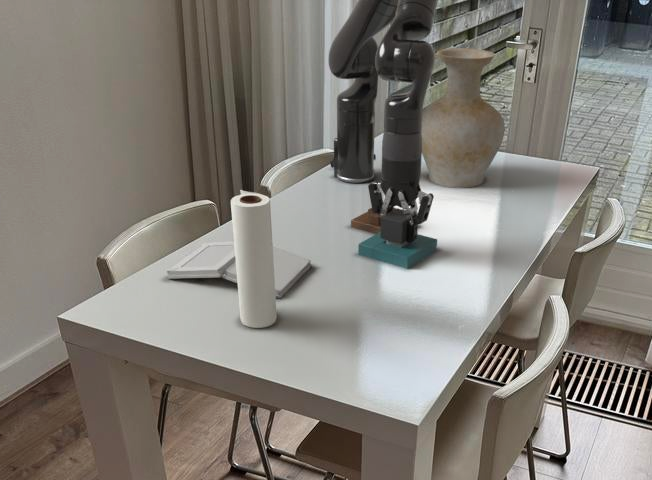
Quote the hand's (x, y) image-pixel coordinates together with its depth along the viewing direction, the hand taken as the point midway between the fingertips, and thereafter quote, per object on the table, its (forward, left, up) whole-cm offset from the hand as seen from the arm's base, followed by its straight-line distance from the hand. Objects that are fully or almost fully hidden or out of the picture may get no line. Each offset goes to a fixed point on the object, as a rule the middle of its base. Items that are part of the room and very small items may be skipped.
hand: (398, 238), depth 155 cm
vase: (-13, +49, -3) cm, 51 cm away
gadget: (-19, -26, -3) cm, 32 cm away
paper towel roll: (-4, -38, -3) cm, 38 cm away
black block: (0, 0, -2) cm, 2 cm away
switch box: (-10, +10, -3) cm, 14 cm away
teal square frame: (0, 0, -3) cm, 3 cm away
